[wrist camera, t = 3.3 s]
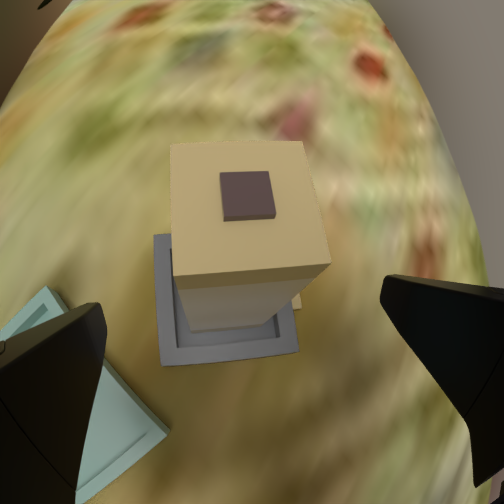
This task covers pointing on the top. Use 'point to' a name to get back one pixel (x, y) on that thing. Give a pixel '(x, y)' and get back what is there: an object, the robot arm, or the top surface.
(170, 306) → the small gray square tray
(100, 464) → the parts tray
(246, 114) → the top surface
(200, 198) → the block
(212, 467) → the top surface
